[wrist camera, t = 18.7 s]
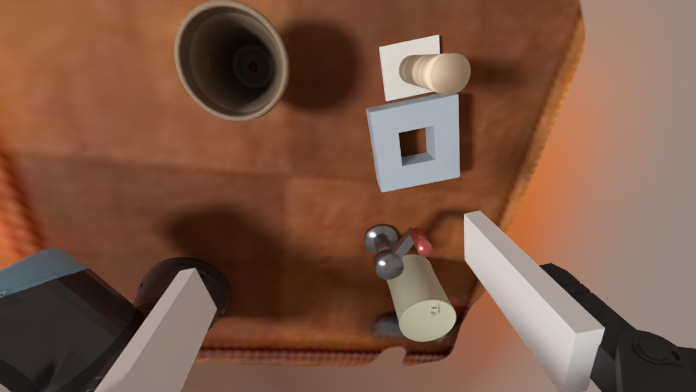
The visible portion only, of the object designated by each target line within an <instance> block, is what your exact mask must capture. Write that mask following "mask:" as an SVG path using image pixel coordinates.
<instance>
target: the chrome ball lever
mask: <svg viewBox="0 0 696 392" xmlns="http://www.w3.org/2000/svg"><path fill="white" fill-rule="evenodd" d="M413 244H414V245H415V247H416V249H417V251H418V253H419V255H420V256H421V257H428V256H430V255H431V254H432V253H433V247H432V246H431V244H430V242H429V241H428V239H427V237H426V235H425V234H424V232H423V230H422V229H421V228H414V229H413V228H411V227H410V228H409V229H408V230H407V231H406V233H405V234H404V235H403V236H402V238H401V239H400V240H399V242H398V243H397V244H396V245H395V247H394V248H393V249H385V250H382V251H380V252H379V253H378V254H377V255H376V256H375V258H374V265H375V269H376V273H377V275H378V276H379V277H380V278H382V279H386V280H391V279H395V278H397V277H398V276H400V275H401V274H402V272H403V270H404V264H403V261H402V258H403V257H404V255H405V254H406V253H407V252H408V251H409V249H410V248H411V247H412V246H413Z"/></svg>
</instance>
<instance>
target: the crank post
mask: <svg viewBox="0 0 696 392" xmlns="http://www.w3.org/2000/svg"><path fill="white" fill-rule="evenodd" d="M397 241H398V236H397V233H396V231H395V230H394V229H393V228H392V227H391V226H389V225H384V224H380V225H376V226H373V227H372V228H370V229H369V230H368V231H367V232H366V234H365V237H364V242H365V246H366V248H367V249H368V250H369V251H370V252H372V253H374V254H378V253H379V252H380V251H382V250H385V249H393V248H394V247H395V245H396V244H397Z"/></svg>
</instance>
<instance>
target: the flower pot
mask: <svg viewBox="0 0 696 392" xmlns="http://www.w3.org/2000/svg"><path fill="white" fill-rule="evenodd" d="M174 57H175V64H176V68H177V72H178V75H179V77H180V79H181V82H182V83H183V85H184V87H185V89H186V90H187V92H188V93H189V95H190V96H191V97H192V98H193V99H194V101H195V102H196V103H197V104H199V105H200V106H201V107H202V108H203V109H205V110H206V111H208V112H209V113H211V114H213V115H215V116H217V117H219V118H222V119H225V120H230V121H249V120H253V119H256V118H259V117H261V116H263V115H265V114H266V113H268V112H269V111H270V110H271V109H272V108H273V107H274V106H275V105H276V104H277V103H278V102H279V101H280V100H281V98H282V96H283V95H284V93H285V91H286V88H287V85H288V82H289V76H290V63H289V57H288V53H287V49H286V47H285V44H284V42H283V40H282V38H281V36H280V34H279V33H278V31H277V30H276V28H275V27H274V26H273V25H272V23H271V22H270V21H269V20H268V19H267V18H266V17H265V16H264V15H262V14H261V13H260V12H258V11H257V10H255V9H254V8H252V7H250V6H248V5H246V4H244V3H241V2H237V1H233V0H213V1H209V2H206V3H203V4H201V5H199V6H197V7H196V8H194V9H193V10H192V11H190V12H189V13H188V14H187V16H186V17H185V18H184V19H183V21H182V23H181V24H180V27H179V28H178V31H177V34H176V38H175V45H174ZM252 62H254V63H256V64H257V66H258V69H257V71H252V70H251V69H250V67H249V65H250V63H252Z"/></svg>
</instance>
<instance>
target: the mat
mask: <svg viewBox="0 0 696 392" xmlns="http://www.w3.org/2000/svg"><path fill="white" fill-rule="evenodd" d="M379 51H380V59H381V67H382V75H383V83H384V91H385V99H386V101H390V100H395V99H400V98H404V97H409V96H414V95H419V94H424V93H429V92H434V91H431V90H428V89H425V88H422V87H418V86H415V85H412V84H409V83H406V82H404V81H403V80H402V79H401V78H400V76H399V66H400V63H401V62H402V60H403V59H404V58H405V57H407V56H410V55H426V54H440V45H439V35H436V36H431V37H426V38H421V39H416V40H412V41H407V42H402V43H397V44H392V45H388V46H383V47H379Z"/></svg>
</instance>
